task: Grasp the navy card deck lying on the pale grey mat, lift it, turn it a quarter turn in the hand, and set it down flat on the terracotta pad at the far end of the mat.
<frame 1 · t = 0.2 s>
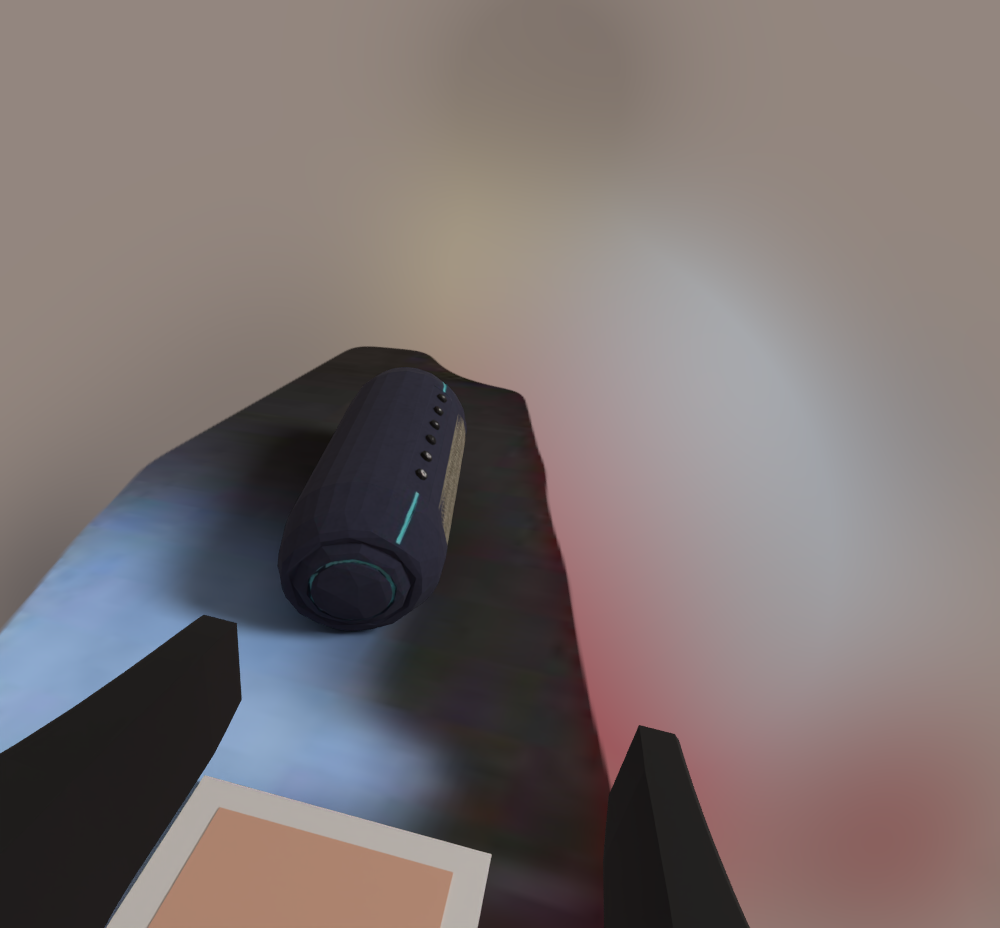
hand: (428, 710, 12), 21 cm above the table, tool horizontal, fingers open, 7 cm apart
portable speaker: (384, 536, 50), on the table
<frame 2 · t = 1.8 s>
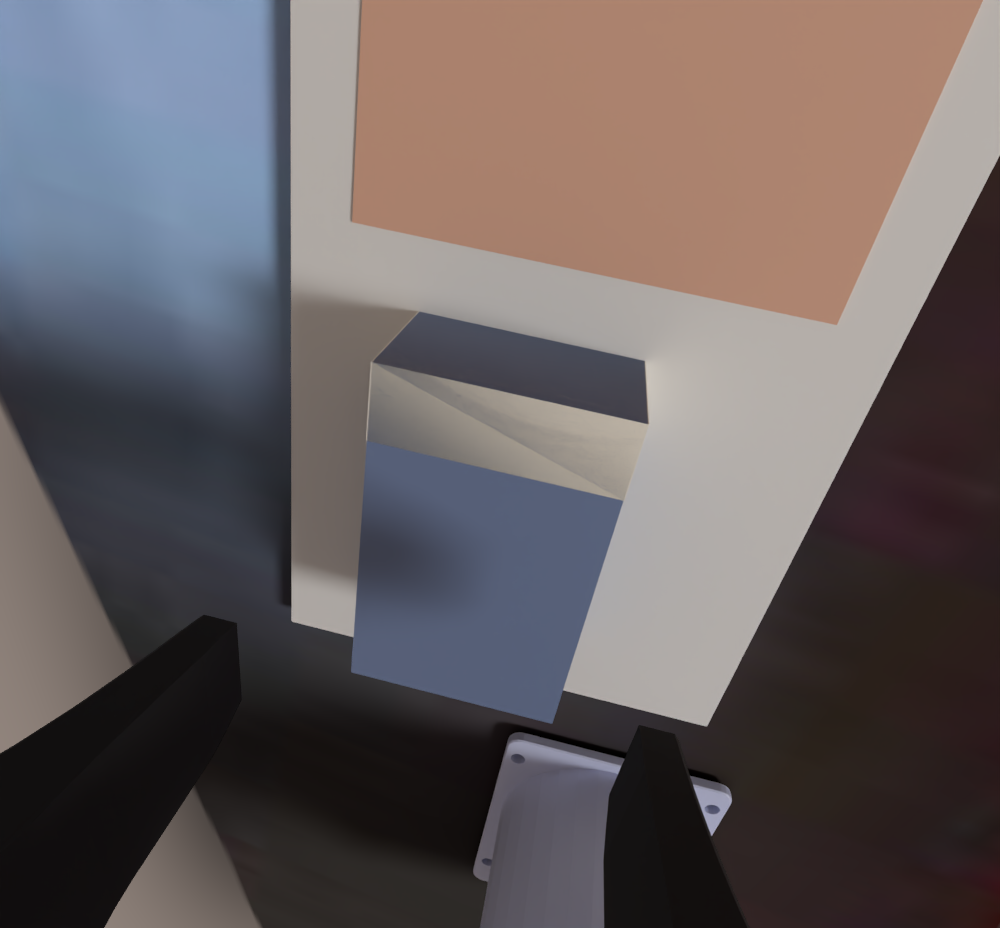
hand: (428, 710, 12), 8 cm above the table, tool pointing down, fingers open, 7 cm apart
card deck: (500, 490, 18), point 1 cm above the table, touching mat
mat: (569, 355, 16), on the table
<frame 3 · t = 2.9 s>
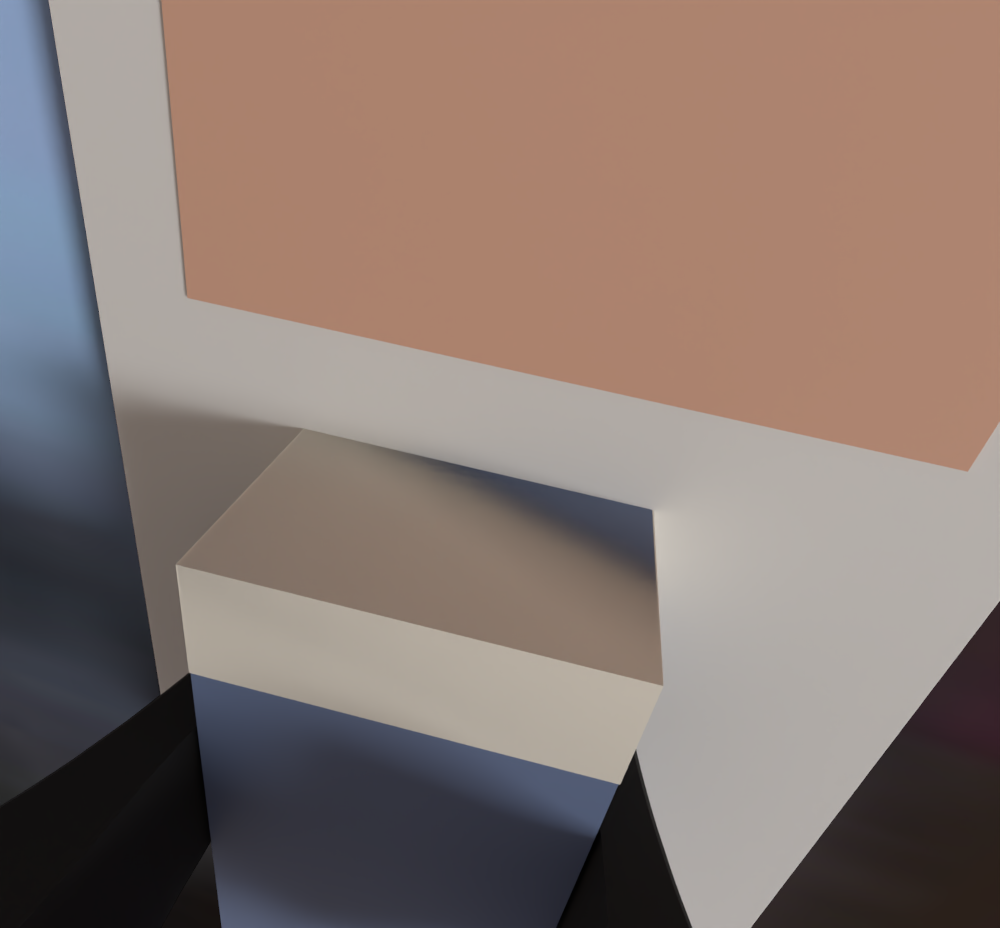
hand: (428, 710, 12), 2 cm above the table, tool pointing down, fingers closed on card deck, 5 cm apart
card deck: (441, 667, 12), point 1 cm above the table, touching gripper, mat
mat: (537, 489, 11), on the table
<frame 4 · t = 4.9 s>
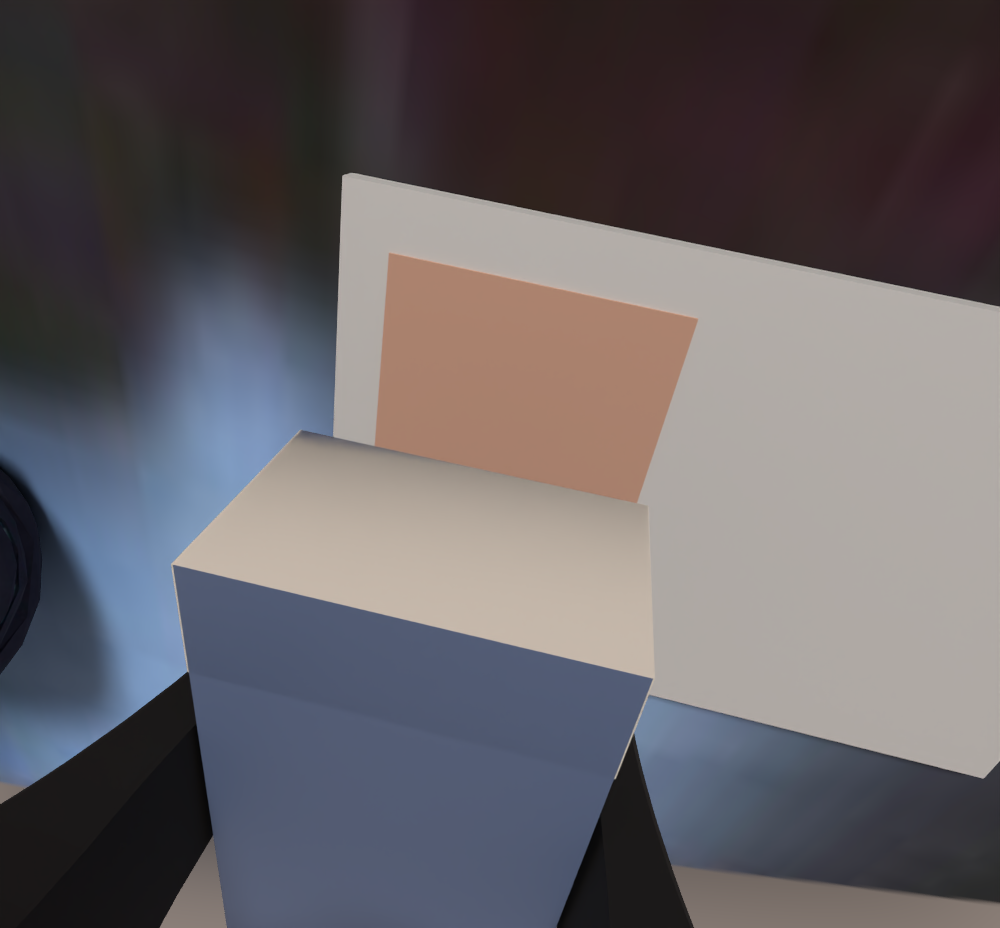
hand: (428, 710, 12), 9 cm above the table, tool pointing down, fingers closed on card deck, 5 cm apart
card deck: (442, 666, 12), point 8 cm above the table, touching gripper
mat: (713, 514, 19), on the table
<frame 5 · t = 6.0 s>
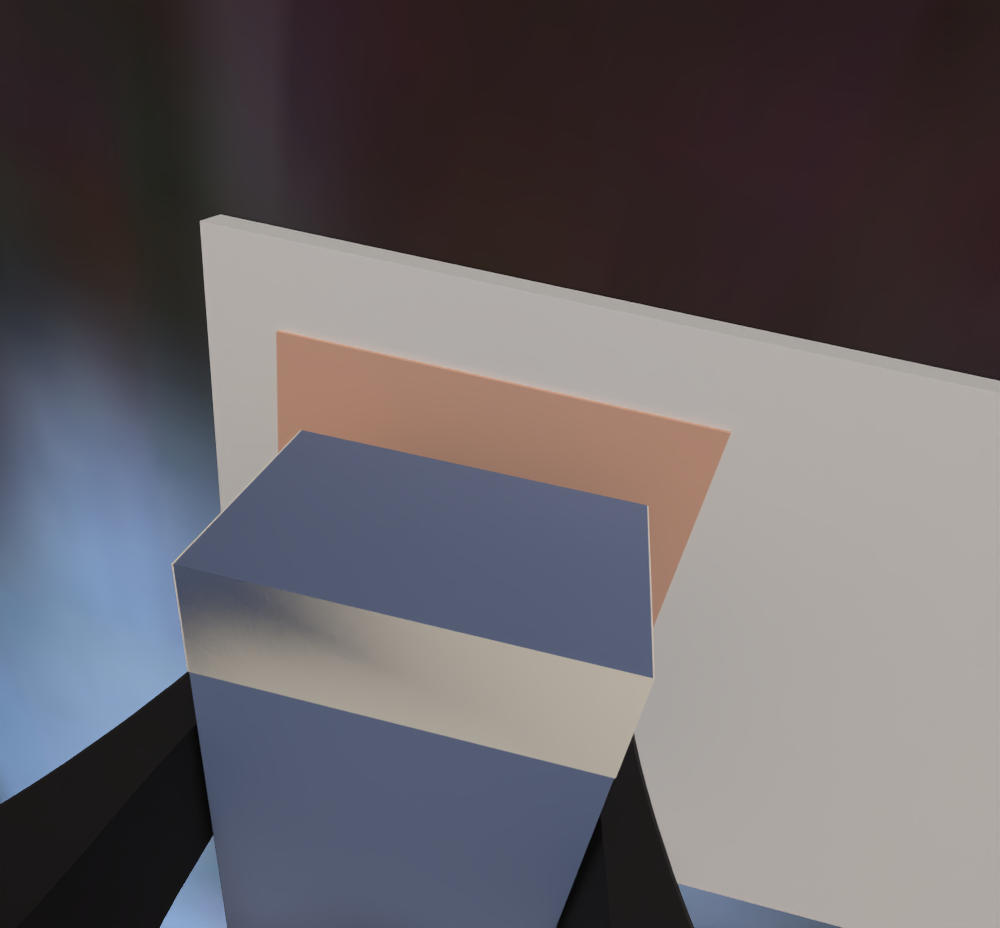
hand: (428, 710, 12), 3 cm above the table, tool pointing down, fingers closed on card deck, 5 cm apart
card deck: (442, 666, 12), point 2 cm above the table, touching gripper
mat: (742, 672, 14), on the table
when the fingers open (3 cm above the table, at t = 6.9 s): card deck drops 1 cm, resting on mat.
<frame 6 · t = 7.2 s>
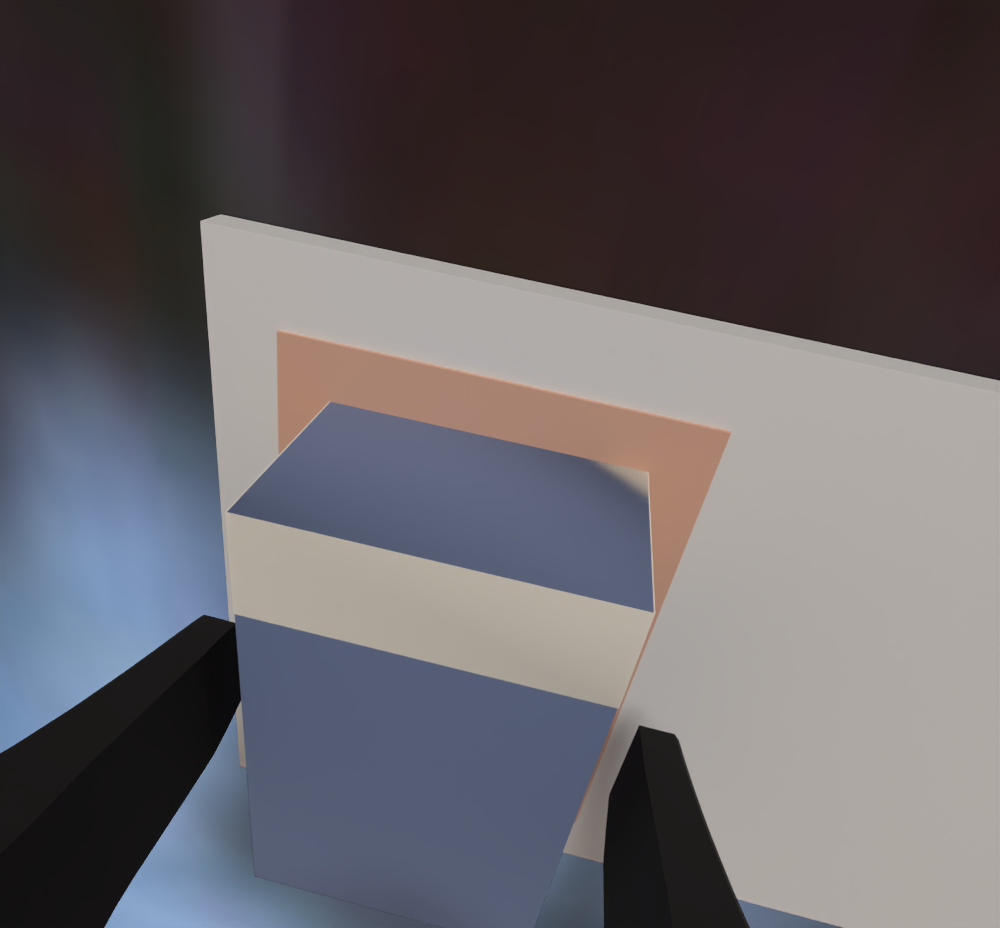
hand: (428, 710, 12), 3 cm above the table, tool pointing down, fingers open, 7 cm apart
card deck: (454, 626, 13), point 1 cm above the table, touching mat
mat: (743, 672, 14), on the table
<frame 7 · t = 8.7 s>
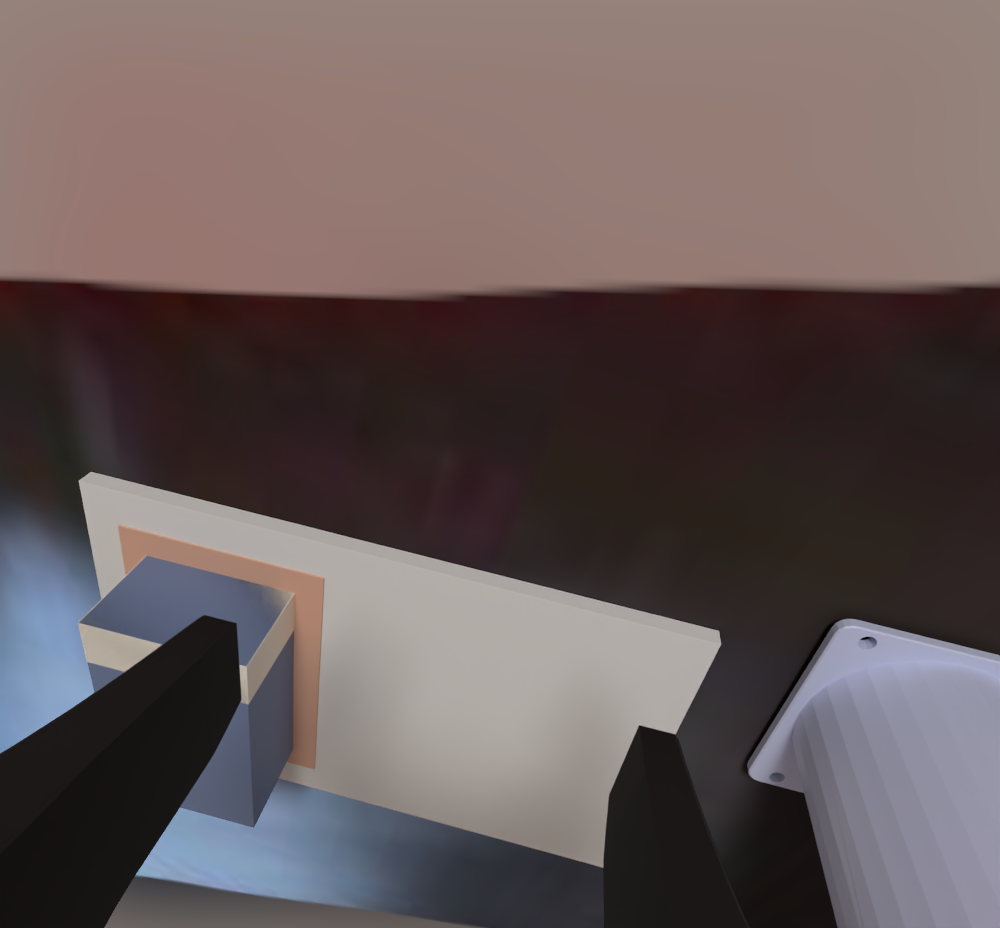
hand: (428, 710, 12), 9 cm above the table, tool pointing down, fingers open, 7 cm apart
card deck: (226, 660, 26), point 1 cm above the table, touching mat
mat: (380, 686, 26), on the table
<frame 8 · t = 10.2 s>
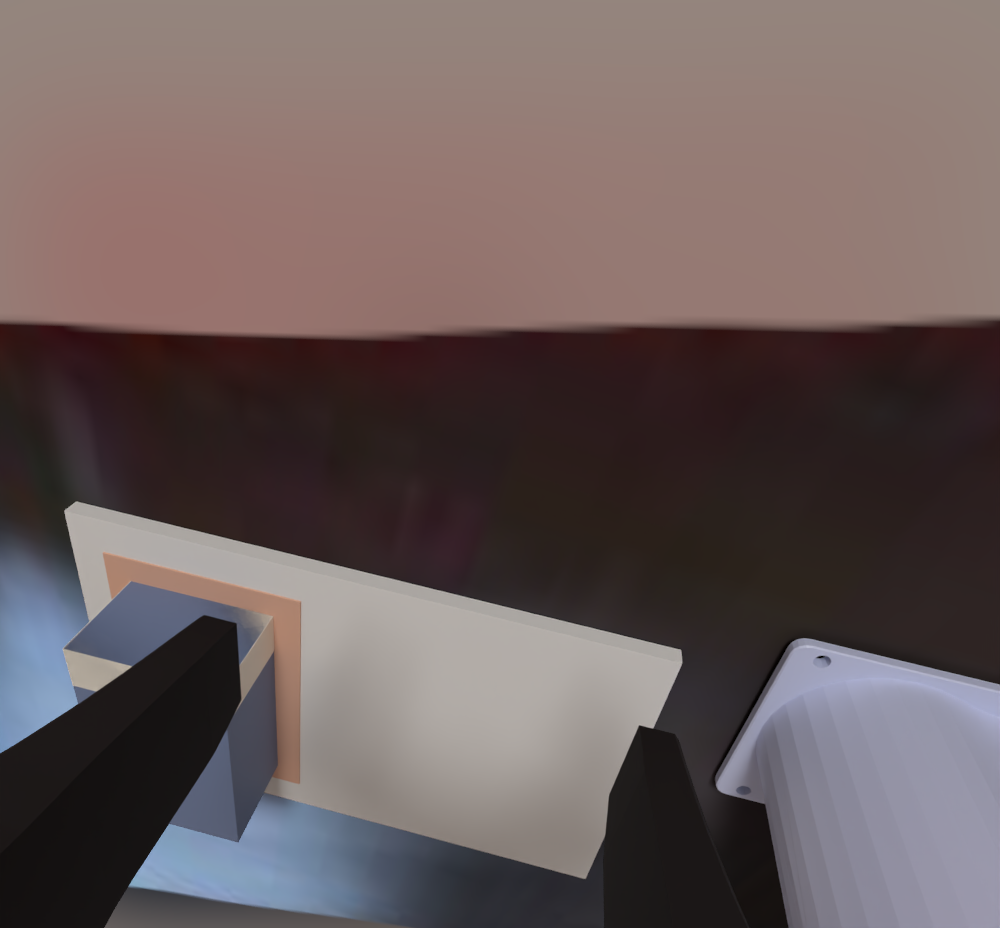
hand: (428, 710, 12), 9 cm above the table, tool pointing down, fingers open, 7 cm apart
card deck: (210, 680, 26), point 1 cm above the table, touching mat
mat: (359, 703, 27), on the table
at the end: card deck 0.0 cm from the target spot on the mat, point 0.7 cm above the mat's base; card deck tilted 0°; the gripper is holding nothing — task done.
